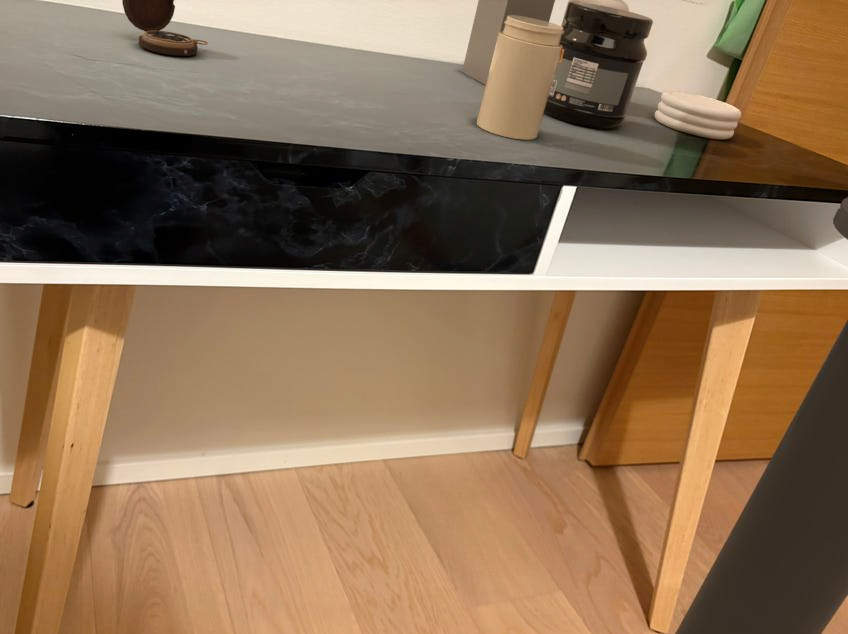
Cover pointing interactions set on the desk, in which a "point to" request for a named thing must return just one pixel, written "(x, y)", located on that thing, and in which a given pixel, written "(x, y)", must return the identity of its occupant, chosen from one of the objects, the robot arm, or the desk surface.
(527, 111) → the jar
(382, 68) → the desk surface
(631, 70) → the supplement container
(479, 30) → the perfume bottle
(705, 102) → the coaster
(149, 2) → the compass
